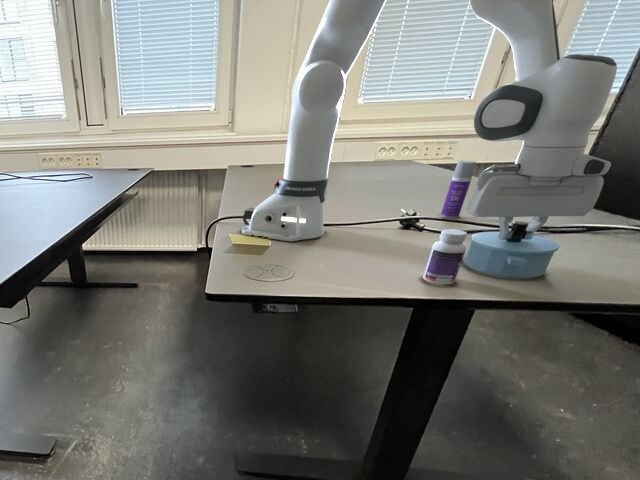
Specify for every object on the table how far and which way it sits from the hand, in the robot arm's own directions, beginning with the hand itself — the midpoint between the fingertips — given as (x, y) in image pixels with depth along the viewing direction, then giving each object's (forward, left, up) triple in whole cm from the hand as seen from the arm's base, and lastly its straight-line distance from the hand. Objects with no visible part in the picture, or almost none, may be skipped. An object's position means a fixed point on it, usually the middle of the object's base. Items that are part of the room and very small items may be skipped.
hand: (514, 238), depth 82 cm
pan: (0, 0, -6) cm, 6 cm away
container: (-7, +47, -6) cm, 48 cm away
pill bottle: (-12, -13, -6) cm, 19 cm away
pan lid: (0, 0, -1) cm, 1 cm away
